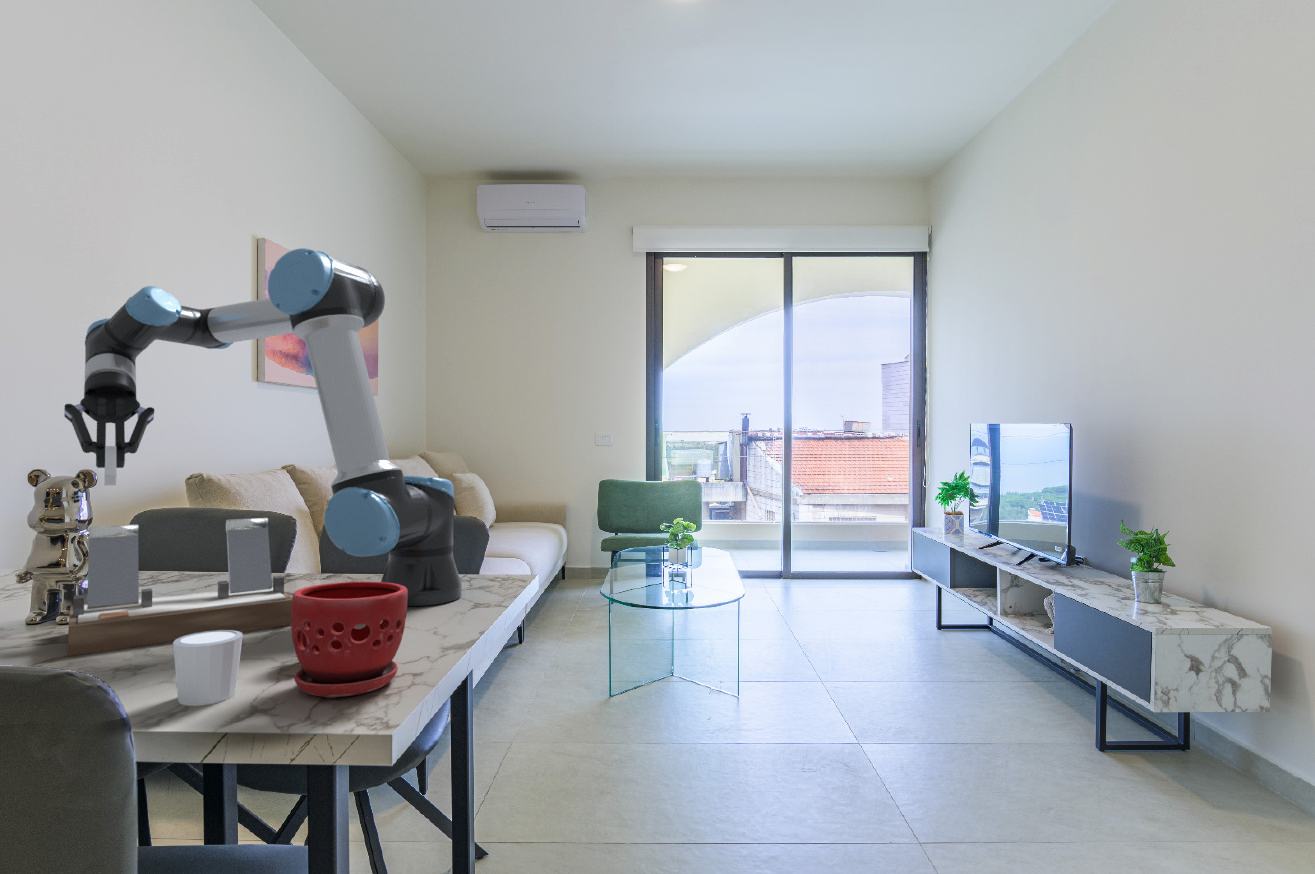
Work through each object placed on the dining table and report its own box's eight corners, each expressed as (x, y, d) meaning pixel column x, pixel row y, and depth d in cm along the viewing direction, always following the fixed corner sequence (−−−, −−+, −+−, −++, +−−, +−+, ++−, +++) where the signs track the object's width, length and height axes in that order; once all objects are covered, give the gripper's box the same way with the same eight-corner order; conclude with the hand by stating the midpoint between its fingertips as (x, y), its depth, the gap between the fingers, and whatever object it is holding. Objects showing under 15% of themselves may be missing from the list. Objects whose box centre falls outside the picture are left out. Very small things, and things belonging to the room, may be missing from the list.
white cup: (171, 693, 82) (172, 634, 82) (239, 682, 86) (240, 625, 86) (171, 712, 76) (173, 648, 76) (244, 699, 80) (245, 639, 80)
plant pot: (399, 699, 81) (401, 597, 81) (275, 708, 78) (277, 601, 78) (410, 664, 94) (412, 575, 94) (304, 670, 91) (306, 579, 91)
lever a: (229, 594, 114) (225, 522, 118) (270, 589, 118) (265, 520, 122) (231, 590, 112) (227, 517, 117) (272, 586, 116) (267, 515, 120)
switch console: (69, 633, 106) (70, 589, 106) (275, 607, 123) (276, 569, 123) (67, 656, 95) (68, 607, 95) (294, 624, 113) (294, 583, 113)
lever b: (87, 609, 102) (88, 529, 107) (137, 604, 106) (137, 526, 110) (87, 606, 101) (88, 524, 105) (138, 600, 105) (138, 522, 109)
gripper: (152, 401, 135) (156, 493, 122) (64, 396, 126) (58, 495, 113) (155, 372, 131) (160, 464, 118) (64, 366, 122) (58, 464, 109)
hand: (110, 479), depth 116 cm, fingers closed
